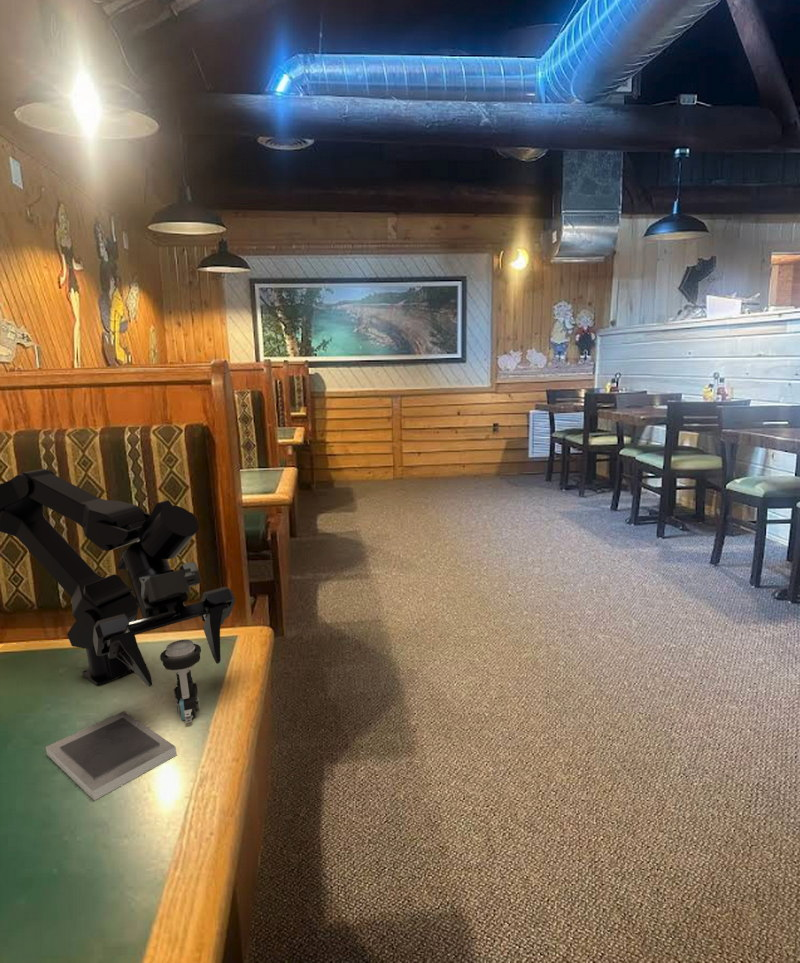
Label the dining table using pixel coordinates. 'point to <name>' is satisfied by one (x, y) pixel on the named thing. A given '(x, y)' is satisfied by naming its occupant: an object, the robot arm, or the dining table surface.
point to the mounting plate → (110, 753)
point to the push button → (183, 675)
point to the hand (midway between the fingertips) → (185, 673)
